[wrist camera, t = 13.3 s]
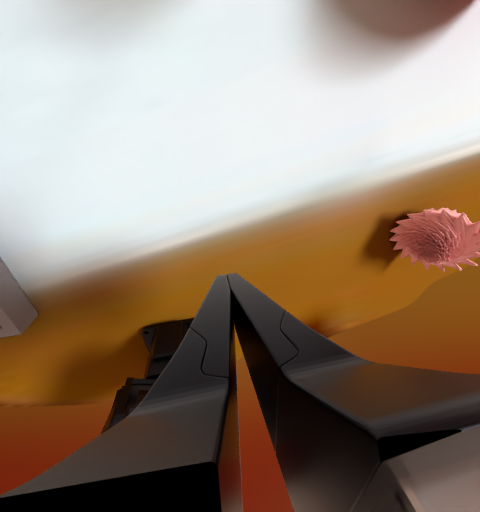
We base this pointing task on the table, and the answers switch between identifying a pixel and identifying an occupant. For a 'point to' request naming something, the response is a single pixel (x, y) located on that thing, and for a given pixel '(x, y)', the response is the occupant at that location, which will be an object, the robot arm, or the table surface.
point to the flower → (438, 238)
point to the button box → (13, 305)
